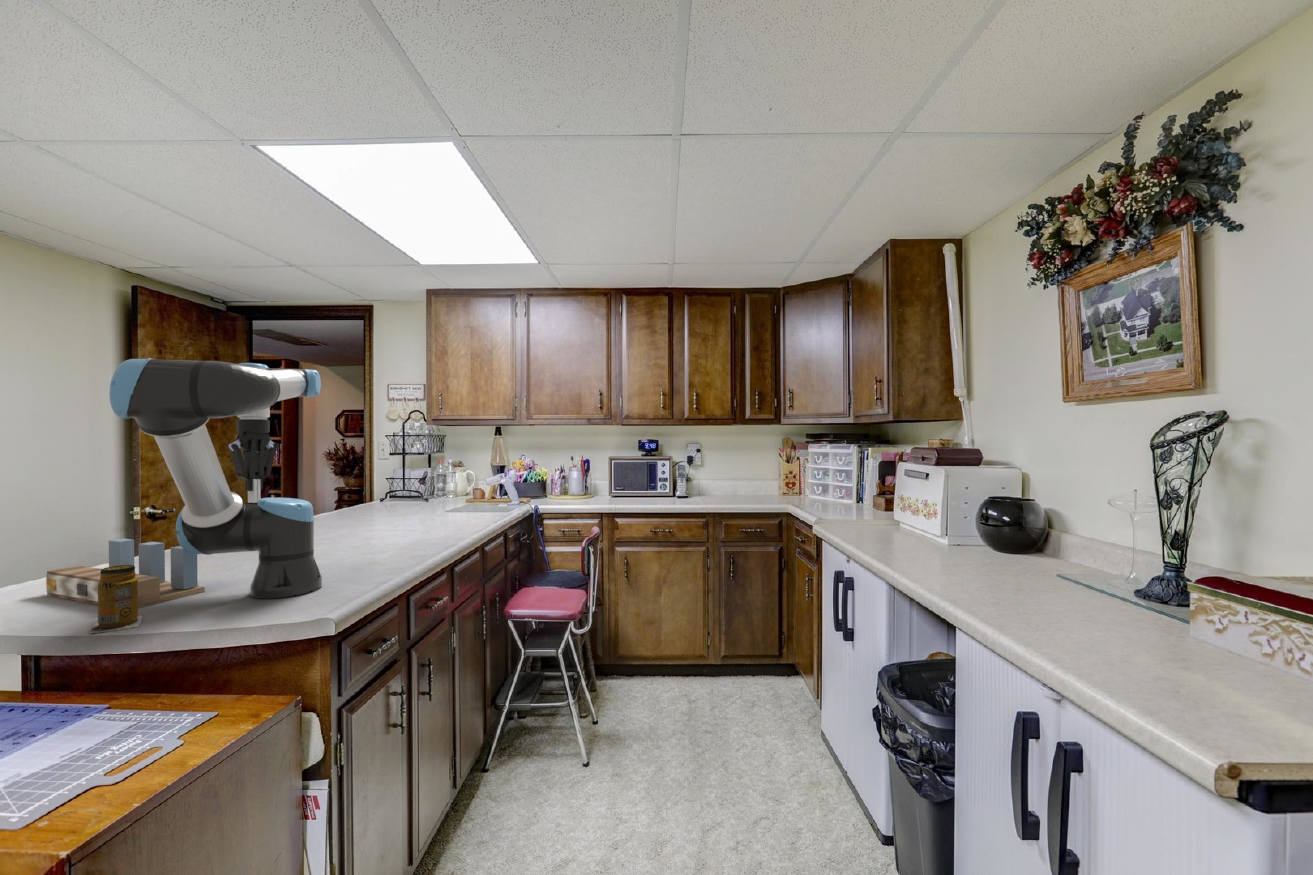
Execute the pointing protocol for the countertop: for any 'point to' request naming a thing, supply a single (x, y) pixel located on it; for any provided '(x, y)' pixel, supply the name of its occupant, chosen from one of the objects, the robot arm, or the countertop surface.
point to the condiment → (117, 599)
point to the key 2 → (183, 569)
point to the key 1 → (121, 552)
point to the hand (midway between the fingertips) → (254, 502)
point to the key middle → (152, 559)
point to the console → (85, 580)
